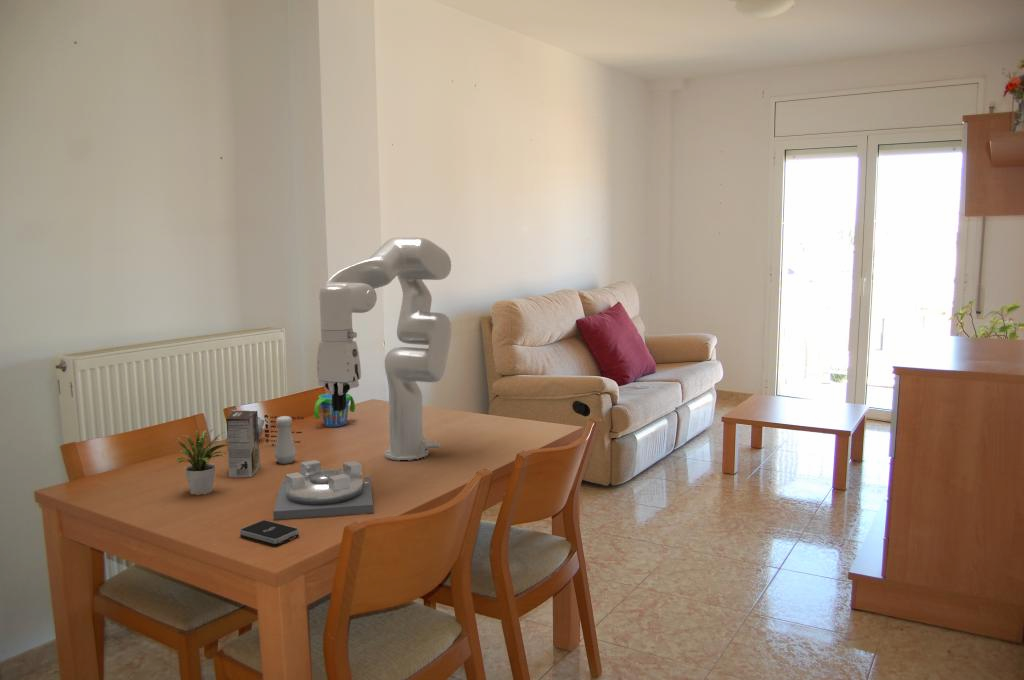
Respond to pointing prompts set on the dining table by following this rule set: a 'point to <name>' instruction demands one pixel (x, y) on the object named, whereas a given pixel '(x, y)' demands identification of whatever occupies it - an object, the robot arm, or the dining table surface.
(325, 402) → the snack cup
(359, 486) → the domed turntable base
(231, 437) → the coffee box
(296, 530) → the external hard drive
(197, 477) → the house plant
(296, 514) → the housing plate
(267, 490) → the dining table surface
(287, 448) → the salt shaker
